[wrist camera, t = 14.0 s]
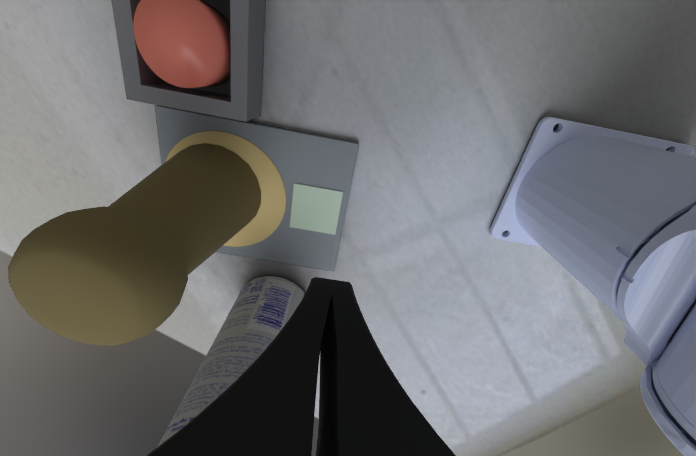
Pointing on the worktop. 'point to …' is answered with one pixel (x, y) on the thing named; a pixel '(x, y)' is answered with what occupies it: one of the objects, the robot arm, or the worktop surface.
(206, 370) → the beverage can
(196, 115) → the grey kitchen scale
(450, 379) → the worktop surface
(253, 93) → the button housing
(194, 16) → the button
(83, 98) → the worktop surface
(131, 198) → the olive knobbed peg
